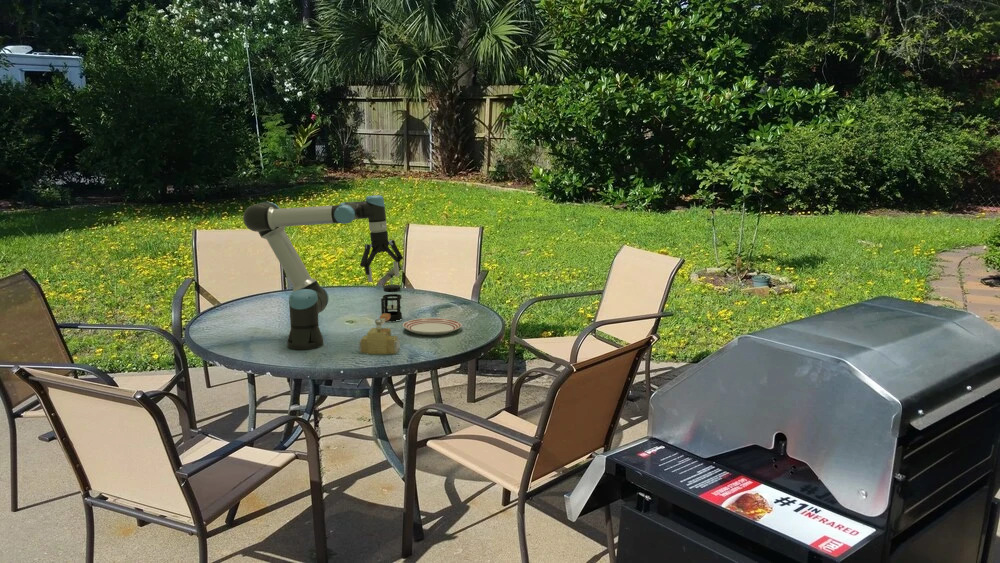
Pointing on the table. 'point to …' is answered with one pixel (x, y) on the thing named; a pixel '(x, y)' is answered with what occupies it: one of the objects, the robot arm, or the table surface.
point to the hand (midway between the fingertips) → (383, 279)
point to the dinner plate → (432, 326)
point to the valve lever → (382, 320)
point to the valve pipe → (379, 342)
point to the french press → (384, 307)
